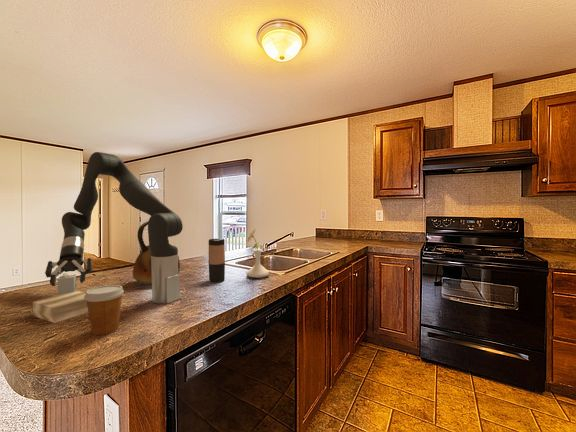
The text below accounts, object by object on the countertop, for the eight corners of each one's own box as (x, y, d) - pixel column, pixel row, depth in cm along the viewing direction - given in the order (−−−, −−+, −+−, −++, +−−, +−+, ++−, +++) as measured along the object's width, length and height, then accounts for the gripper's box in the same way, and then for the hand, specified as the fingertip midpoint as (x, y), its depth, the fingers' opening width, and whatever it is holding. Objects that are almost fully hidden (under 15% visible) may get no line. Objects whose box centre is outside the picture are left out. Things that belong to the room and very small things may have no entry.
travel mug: (210, 283, 127) (210, 240, 126) (207, 279, 134) (206, 239, 133) (226, 281, 130) (226, 239, 130) (222, 277, 137) (222, 238, 136)
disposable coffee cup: (98, 323, 83) (97, 284, 83) (130, 322, 84) (130, 284, 83) (76, 338, 74) (75, 294, 73) (113, 337, 74) (112, 293, 74)
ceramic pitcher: (187, 281, 130) (186, 219, 130) (143, 291, 115) (141, 220, 114) (168, 274, 143) (168, 218, 142) (126, 282, 128) (125, 219, 127)
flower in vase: (254, 273, 147) (254, 226, 146) (273, 275, 142) (272, 227, 141) (240, 278, 135) (239, 228, 134) (259, 281, 130) (259, 229, 129)
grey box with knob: (79, 296, 109) (78, 270, 109) (76, 300, 104) (76, 274, 103) (58, 298, 106) (58, 272, 106) (54, 303, 100) (54, 276, 100)
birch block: (98, 309, 96) (98, 295, 95) (54, 324, 84) (53, 308, 84) (77, 304, 101) (77, 290, 101) (33, 316, 89) (32, 301, 89)
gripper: (48, 245, 108) (41, 280, 99) (92, 243, 116) (89, 275, 106) (52, 256, 113) (45, 291, 104) (94, 253, 120) (91, 286, 111)
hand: (67, 283), depth 105 cm, fingers open, 8 cm apart
